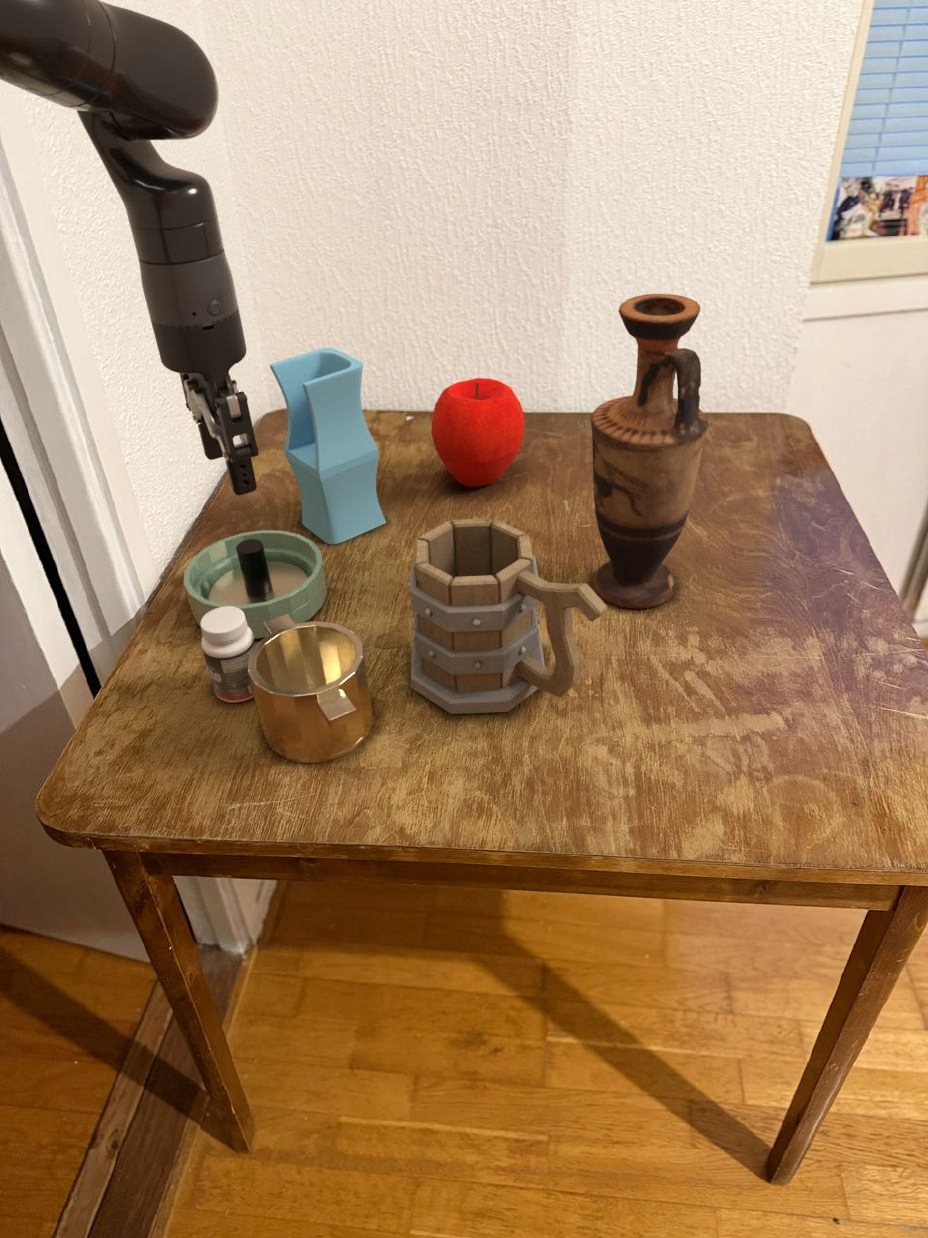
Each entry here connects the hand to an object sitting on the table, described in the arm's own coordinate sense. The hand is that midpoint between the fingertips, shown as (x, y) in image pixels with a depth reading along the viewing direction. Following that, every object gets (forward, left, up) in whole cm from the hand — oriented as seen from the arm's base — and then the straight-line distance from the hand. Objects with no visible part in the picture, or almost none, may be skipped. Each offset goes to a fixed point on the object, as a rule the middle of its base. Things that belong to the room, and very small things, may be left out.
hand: (230, 473), depth 86 cm
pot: (-2, -21, -16) cm, 26 cm away
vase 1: (+14, +10, -16) cm, 23 cm away
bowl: (0, 0, -16) cm, 16 cm away
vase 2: (+35, -20, -16) cm, 43 cm away
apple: (+33, +9, -16) cm, 38 cm away
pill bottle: (-6, -12, -16) cm, 21 cm away
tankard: (+15, -26, -16) cm, 34 cm away
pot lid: (0, 0, -14) cm, 14 cm away
